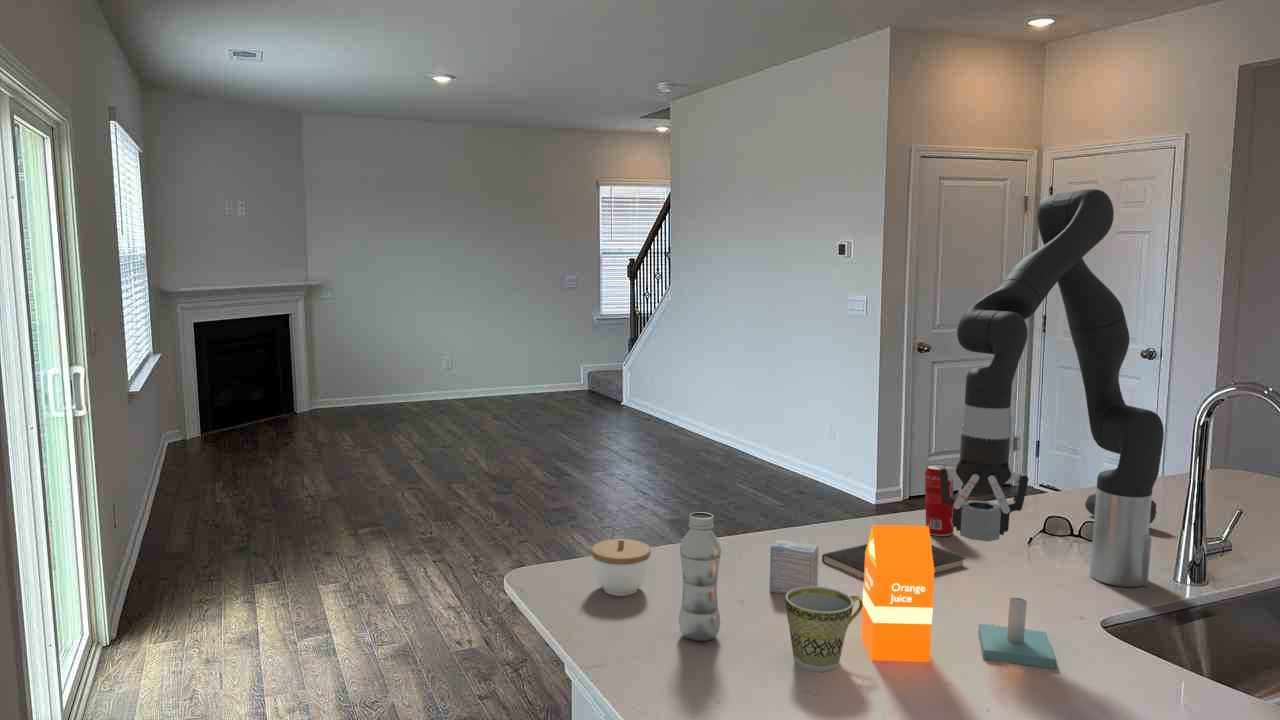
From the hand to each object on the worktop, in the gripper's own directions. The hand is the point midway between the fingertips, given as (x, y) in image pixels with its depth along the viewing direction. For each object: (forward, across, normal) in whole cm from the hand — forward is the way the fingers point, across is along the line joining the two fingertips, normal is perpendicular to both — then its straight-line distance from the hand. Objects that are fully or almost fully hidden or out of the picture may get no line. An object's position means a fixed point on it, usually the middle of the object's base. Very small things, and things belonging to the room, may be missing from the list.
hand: (979, 531), depth 149 cm
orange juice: (+16, +12, +16) cm, 25 cm away
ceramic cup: (+16, +22, +23) cm, 36 cm away
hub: (+1, 0, 0) cm, 1 cm away
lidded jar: (+16, +60, +6) cm, 63 cm away
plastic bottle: (+16, +42, +21) cm, 50 cm away
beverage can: (+16, +5, -47) cm, 50 cm away
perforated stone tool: (+16, -34, -70) cm, 80 cm away
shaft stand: (+16, -6, +10) cm, 19 cm away
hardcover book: (+16, +14, -24) cm, 32 cm away
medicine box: (+16, +31, -3) cm, 35 cm away
